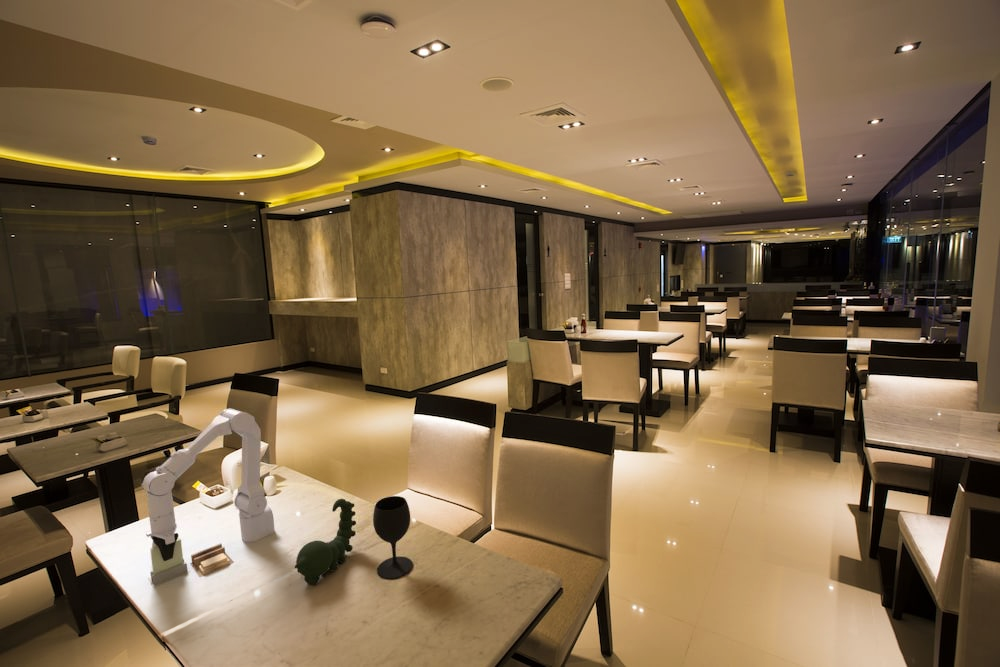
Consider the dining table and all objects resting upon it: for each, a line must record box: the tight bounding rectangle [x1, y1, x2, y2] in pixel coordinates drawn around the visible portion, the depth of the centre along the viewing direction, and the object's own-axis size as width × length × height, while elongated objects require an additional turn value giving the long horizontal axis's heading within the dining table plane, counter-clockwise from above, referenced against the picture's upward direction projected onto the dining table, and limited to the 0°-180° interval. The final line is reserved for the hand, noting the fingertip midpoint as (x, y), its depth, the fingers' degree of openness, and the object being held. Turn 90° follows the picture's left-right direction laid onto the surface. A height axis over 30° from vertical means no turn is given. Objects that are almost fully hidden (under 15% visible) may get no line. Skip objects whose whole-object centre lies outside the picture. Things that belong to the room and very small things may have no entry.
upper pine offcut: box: [201, 553, 227, 570], centre depth 137 cm, size 6×4×1 cm, turn 137°
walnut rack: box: [189, 542, 235, 578], centre depth 139 cm, size 9×10×3 cm
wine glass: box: [372, 495, 414, 580], centre depth 133 cm, size 10×10×20 cm
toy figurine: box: [294, 498, 357, 586], centre depth 134 cm, size 9×19×25 cm
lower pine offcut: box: [199, 555, 230, 575], centre depth 137 cm, size 7×4×1 cm, turn 137°
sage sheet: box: [150, 537, 184, 575], centre depth 133 cm, size 7×2×9 cm, turn 137°
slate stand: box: [148, 557, 191, 588], centre depth 133 cm, size 9×6×3 cm, turn 137°
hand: (167, 557), depth 133 cm, fingers closed on sage sheet, 1 cm apart
